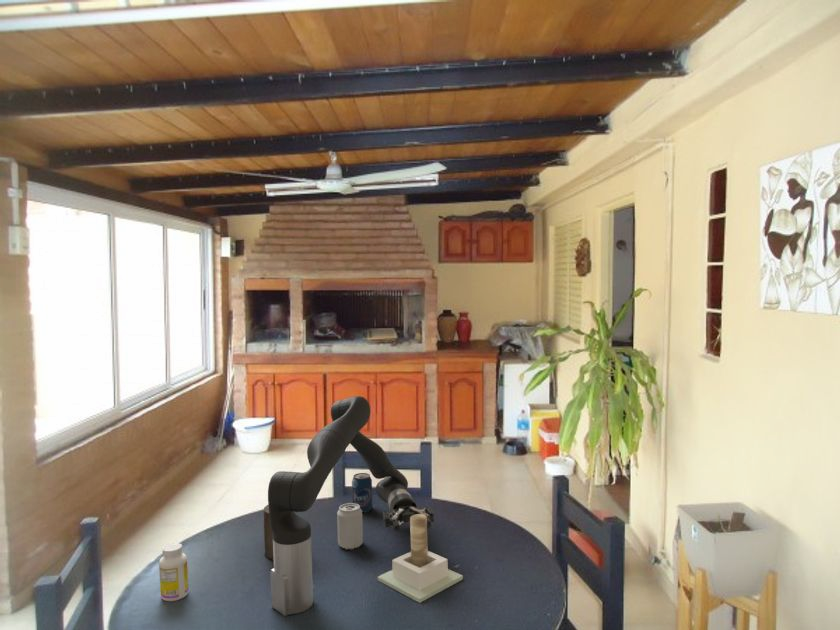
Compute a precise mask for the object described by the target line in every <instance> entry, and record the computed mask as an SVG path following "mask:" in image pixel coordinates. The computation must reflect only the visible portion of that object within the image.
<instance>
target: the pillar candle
mask: <svg viewBox="0 0 840 630" xmlns="http://www.w3.org/2000/svg"><path fill="white" fill-rule="evenodd" d="M293 512H294V511H293ZM294 513H295V514H297V515H298V512H294ZM263 537H264V554H263V555H264V557H265V558H267V559H269V560H273V561H274V558H273V534H272V531H271V527H270V516H269V505H268V504H267V505H265V506H264V508H263Z"/></svg>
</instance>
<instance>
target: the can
mask: <svg viewBox="0 0 840 630" xmlns="http://www.w3.org/2000/svg"><path fill="white" fill-rule="evenodd" d="M336 516H337V517H336V519H337V523H336V524H337V544H338V546H339V547H340V548H341V547H342V549H343V548H345V549H344V550H348V549H350V550H355V549H354V548H356V549H358V548H359V547H361V546H362V545H363V543H364V536H363V535H364V534H363V533H364V531H363V527H364V526H363V513H362V510H361V509H360V506H359V505H358V504H355V503H352V502H347V503H344V504H341V505H340V506H339V507H338V511H337V512H336ZM357 547H358V548H357Z"/></svg>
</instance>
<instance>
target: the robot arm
mask: <svg viewBox="0 0 840 630" xmlns="http://www.w3.org/2000/svg"><path fill="white" fill-rule="evenodd" d="M330 417H331V420H332V422H330V423H328V424H327V425H325V426H324V427H322V428H321V429H320V430H318V432H317V433H316V435H314V437H313V438H312V440H311V441H310V442H309V444H308V446H307V450H306V456H307V460H308V464H309V467H310V468H308V470H307V471H304V472H298V471H297V472H296V471H284V470H283V471H281V470H280V471H276V472H275V473H273V474H272V476H271V478H270V480H269V483H268V489H267V503H268V504H267V505H269V516H270V527H271V531H272V534H273V558H274V560H273V568H272V569H270V593H271V594H270V595H271V596H270V597H271V608H273V609H275V611H277V612H279V614H281V615H283V616H284V617H285V616H288V615H294V614H300V613H304V612H305V611H307V610H309V609H310V608H311V607H312V606H313V604H314V589H313V587H314V586H313V557H312V555H313V554H312V527H311V524H310V523H309V521H308V520H306V519H305V518H302V517H301V516H299V515H298V513H304V512H307V511H309V510H310V508H312V506H313V505H314V504H315V501H316V500H317V498H318V496H319V494H320V492H321V490H322V489H323V486H324V485H325V483H326V481H327V479H328V476H329V475H330V473H331V472H332V471H333V469H334V467H335V466H336V464H337V463H338V462H339V460H340V459H341V457H342V456H343V455H344V453H345V451H346V449H347V447H348V446H349V445H350V446H352V447H353V448H354V449H355V450H356V452H357V453H358V454H359V455H360V458H362V460H363V461H364V464H365V465H366V466H367V468H368V470H369V471H370V472H369V473H370V474H371V475H372V477H374V478H375V479H377V480H379V482H377V484H376V486H375V492H376V495H377V496H378V497H379V499H380V500H381V501H383V502H384V503H386V504H387V505H388V508H389V511H390V512H388V511H387V510H383V511H382V516H383V517H382V519H383V524H384V527H385V528H389V527H392V528H393V530H394V531H396V532H397V533H400V532H401V531H400V530H401V529H400V528H401V525H402V524H406V523H410V517H411V516H412V515H416V514H422V515H425V516H426V517H427V530H428V529H430V528H431V527H432V523H434V522H435V513H434V511H433V510H432V509H431V507H430V506H428V505H427V506H424V508H423V509H420V508H419V507H418V506H417V503H416V502H415V500H414V499H413V497H412V495H411V494H410V493H409V492H408V491H407V489H408V488H409V482H408V479H407V477H406V476H405V475H404V474H403V473H402V472H401V471H400V470H398V469H397V468H396V467H395V466H394V465H393V463H392V462H391V461H390V459H389V458H388V456H387V454H386V451H385V450H384V449H383V448H382V447H381V446H380V445H379V444H378V443H377V442H375V441H374V440H372V439H371V438H369V437H368V436H366V435H365V434H363V433H362V432H361V430H362V429H363V428H364V427H365V426H366V425H367V423H368V422H369V420H370V417H371V405H370V403H369V401H368V399H366V397H363V396H361V395H356V396H351V397H348V398H344V399H340V400H337V401H335V402H334V403H333V404H332V405H331V407H330ZM293 511H294V512H297V514H295V513H294V512H293Z"/></svg>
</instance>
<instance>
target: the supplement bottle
mask: <svg viewBox="0 0 840 630" xmlns="http://www.w3.org/2000/svg"><path fill="white" fill-rule="evenodd" d="M161 551H162V555H163V556H162V557H161V558H160V559H159V562H158V567H159V582H160V583H159V586H160V587H159V588H160V597H161V599H162V601H166V602H176V601H180V600H181V599H184V598H185V597H187V595H188V594H189V591H190V590H189V588H190V587H189V586H190V585H189V573H188V572H189V571H188V558H187V557H188V556H187V555H186V554H185V553H184V552H183V545H182V544H181V543H178V542H177V543H176V542H175V543H174V542H173V543H169V544H166V545H164V546H163V547H162V549H161Z"/></svg>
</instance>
